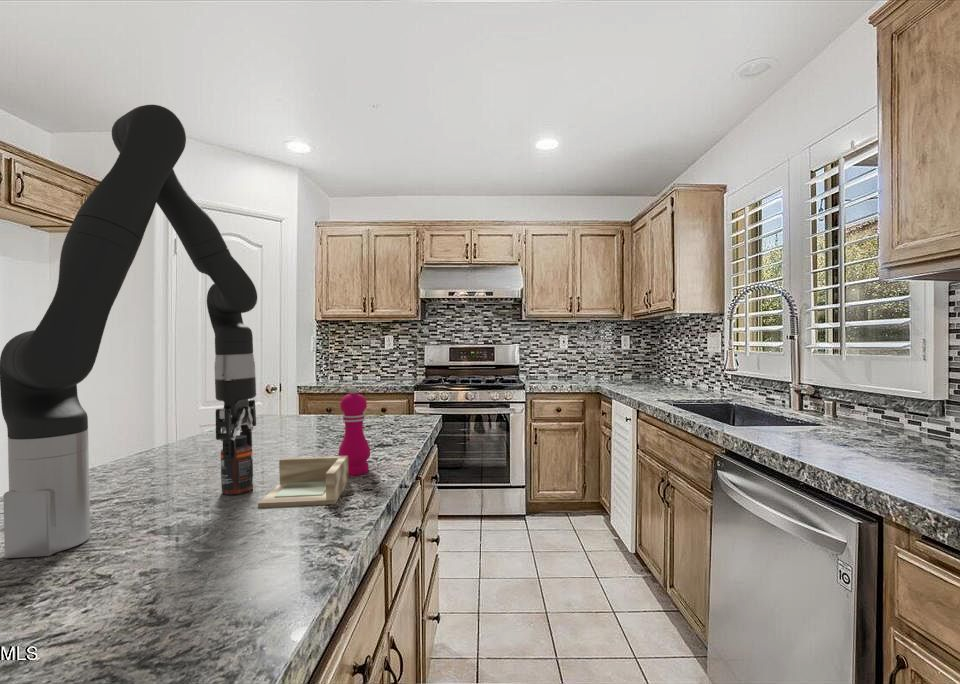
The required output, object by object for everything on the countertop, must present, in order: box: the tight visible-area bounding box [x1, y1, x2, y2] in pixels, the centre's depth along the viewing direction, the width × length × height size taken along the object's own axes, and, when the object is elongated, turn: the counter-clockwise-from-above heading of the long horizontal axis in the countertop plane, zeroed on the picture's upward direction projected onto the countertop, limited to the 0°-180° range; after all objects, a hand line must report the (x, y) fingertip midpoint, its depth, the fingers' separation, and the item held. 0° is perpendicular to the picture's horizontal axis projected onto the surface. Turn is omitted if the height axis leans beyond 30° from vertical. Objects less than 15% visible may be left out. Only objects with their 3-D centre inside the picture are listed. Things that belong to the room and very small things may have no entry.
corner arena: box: [257, 455, 350, 509], centre depth 97 cm, size 14×14×6 cm
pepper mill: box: [337, 386, 371, 477], centre depth 113 cm, size 7×7×20 cm
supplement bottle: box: [220, 434, 254, 496], centre depth 100 cm, size 6×6×11 cm
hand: (238, 453), depth 100 cm, fingers open, 8 cm apart
